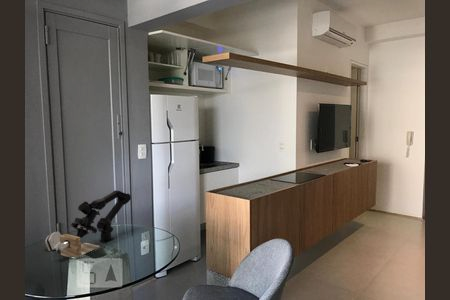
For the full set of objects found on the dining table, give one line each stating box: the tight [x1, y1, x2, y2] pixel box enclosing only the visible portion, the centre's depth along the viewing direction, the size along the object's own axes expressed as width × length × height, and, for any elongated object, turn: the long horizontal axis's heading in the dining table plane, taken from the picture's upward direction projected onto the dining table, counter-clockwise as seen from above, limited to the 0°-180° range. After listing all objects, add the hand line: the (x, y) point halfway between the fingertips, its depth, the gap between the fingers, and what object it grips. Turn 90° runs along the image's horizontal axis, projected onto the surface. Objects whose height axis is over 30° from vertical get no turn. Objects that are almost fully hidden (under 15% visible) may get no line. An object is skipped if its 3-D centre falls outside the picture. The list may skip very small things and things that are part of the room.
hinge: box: [44, 231, 62, 252], centre depth 223 cm, size 17×5×10 cm, turn 6°
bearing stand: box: [60, 233, 101, 258], centre depth 213 cm, size 18×14×12 cm
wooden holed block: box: [58, 240, 70, 251], centre depth 205 cm, size 11×5×5 cm, turn 152°
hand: (76, 240), depth 210 cm, fingers closed
